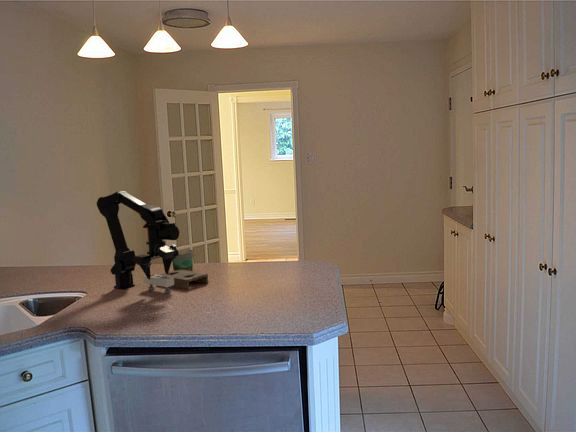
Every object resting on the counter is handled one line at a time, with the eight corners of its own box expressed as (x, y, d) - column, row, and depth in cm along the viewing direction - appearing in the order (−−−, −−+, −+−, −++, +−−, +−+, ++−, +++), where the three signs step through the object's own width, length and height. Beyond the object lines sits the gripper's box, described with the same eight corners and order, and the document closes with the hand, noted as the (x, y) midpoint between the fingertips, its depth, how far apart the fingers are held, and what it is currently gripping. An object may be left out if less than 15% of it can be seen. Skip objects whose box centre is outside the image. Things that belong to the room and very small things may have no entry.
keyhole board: (187, 289, 213) (186, 280, 213) (158, 284, 224) (157, 275, 223) (208, 282, 223) (207, 273, 222) (179, 277, 233) (178, 269, 233)
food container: (180, 277, 234) (179, 255, 233) (171, 275, 238) (170, 254, 236) (200, 271, 244) (199, 250, 242) (191, 269, 247) (190, 249, 246)
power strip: (167, 294, 207) (165, 278, 206) (144, 289, 215) (143, 274, 215) (174, 292, 210) (173, 276, 209) (152, 287, 219) (151, 272, 218)
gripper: (149, 244, 198) (152, 284, 200) (186, 236, 213) (188, 273, 215) (131, 242, 204) (134, 281, 207) (168, 234, 219) (170, 270, 221)
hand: (158, 276), depth 212 cm, fingers open, 9 cm apart
